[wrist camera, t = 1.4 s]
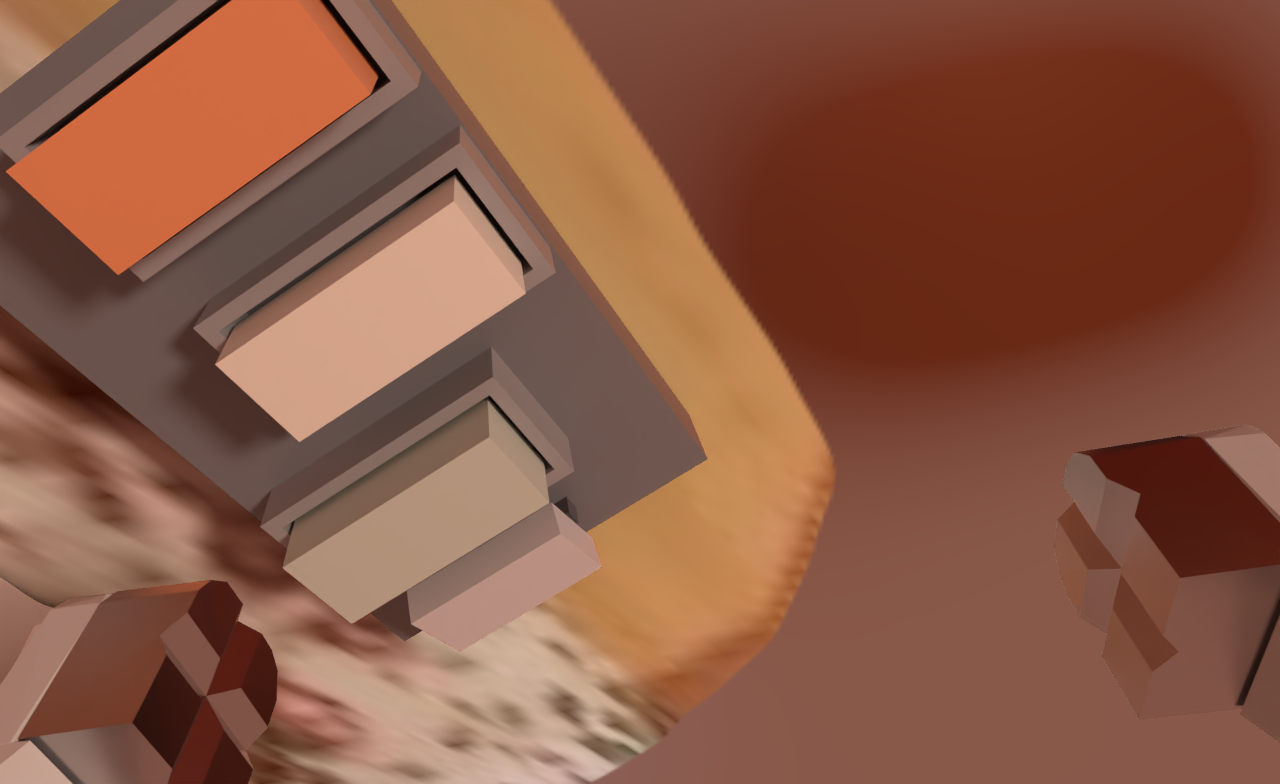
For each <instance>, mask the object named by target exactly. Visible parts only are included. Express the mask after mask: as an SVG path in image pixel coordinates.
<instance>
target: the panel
mask: <svg viewBox="0 0 1280 784" xmlns="http://www.w3.org/2000/svg"><path fill="white" fill-rule="evenodd" d="M230 1H231V0H120V1H119V2H118V3H116V4H115V5H114V6H112V7H111V8H110V9H109V10H107V11H106V12H105V13H103V14H102V15H101V16H100V17H98V18H97V19H96V20H94V21H93V22H92V23H91V24H89V25H88V26H87V27H85V28H84V29H83V30H81V31H80V32H79V33H78V34H76V35H75V36H74V37H72V38H71V39H70V40H69V41H67V42H66V43H65V44H63V45H62V46H61V47H60V48H58V49H57V50H56V51H54V52H53V53H52V54H51V55H49V56H48V57H47V58H45V59H44V60H43V61H42V62H40V63H39V64H38V65H36V66H35V67H34V68H32V69H31V70H30V71H29V72H27V73H26V74H25V75H23V76H22V77H21V78H20V79H18V80H17V81H16V82H14V83H13V84H12V85H11V86H9V87H8V88H7V89H5V90H4V91H3V92H2V93H0V306H1V307H2V308H3V309H5V310H6V311H7V312H8V313H9V314H11V315H12V316H13V317H14V318H16V319H17V320H18V321H19V322H20V323H22V324H23V325H24V326H25V327H26V328H28V329H29V330H30V331H31V332H32V333H34V334H35V335H36V336H37V337H38V338H40V339H41V340H42V341H43V342H44V343H46V344H47V345H48V346H49V347H51V348H52V349H53V350H54V351H55V352H57V353H58V354H59V355H60V356H61V357H63V358H64V359H65V360H66V361H67V362H69V363H70V364H71V365H72V366H73V367H75V368H76V369H77V370H78V371H79V372H81V373H82V374H83V375H84V376H85V377H87V378H88V379H89V380H90V381H92V382H93V383H94V384H95V385H96V386H98V387H99V388H100V389H101V390H102V391H104V392H105V393H106V394H107V395H108V396H110V397H111V398H112V399H113V400H114V401H116V402H117V403H118V404H119V405H120V406H122V407H123V408H124V409H125V410H126V411H128V412H129V413H130V414H131V415H133V416H134V417H135V418H136V419H137V420H139V421H140V422H141V423H142V424H143V425H145V426H146V427H147V428H148V429H149V430H151V431H152V432H153V433H154V434H155V435H157V436H158V437H159V438H160V439H161V440H163V441H164V442H165V443H166V444H167V445H169V446H170V447H171V448H172V449H174V450H175V451H176V452H177V453H178V454H180V455H181V456H182V457H183V458H184V459H186V460H187V461H188V462H189V463H190V464H192V465H193V466H194V467H195V468H196V469H198V470H199V471H200V472H201V473H202V474H204V475H205V476H206V477H207V478H208V479H210V480H211V481H212V482H213V483H215V484H216V485H217V486H218V487H219V488H221V489H222V490H223V491H224V492H225V493H227V494H228V495H229V496H230V497H231V498H233V499H234V500H235V501H236V502H237V503H239V504H240V505H241V506H242V507H243V508H245V509H246V510H247V511H248V512H249V513H251V514H252V515H253V516H254V517H256V518H257V519H258V520H259V521H260V522H261V525H260V527H261V528H262V529H263V530H264V531H266V532H267V533H268V534H269V535H271V536H272V537H273V538H274V539H275V540H277V541H278V542H279V543H280V544H281V545H283V546H284V547H285V548H286V549H287V548H288V544H289V541H290V537H291V533H292V529H293V526H294V522H295V520H296V519H297V518H299V517H301V516H302V515H304V514H305V513H307V512H308V511H310V510H312V509H313V508H315V507H316V506H318V505H319V504H321V503H322V502H324V501H326V500H327V499H329V498H330V497H332V496H333V495H335V494H337V493H338V492H340V491H341V490H343V489H344V488H346V487H347V486H349V485H351V484H352V483H354V482H355V481H357V480H358V479H360V478H362V477H363V476H365V475H366V474H368V473H369V472H371V471H372V470H374V469H376V468H377V467H379V466H380V465H382V464H383V463H385V462H387V461H388V460H390V459H391V458H393V457H394V456H396V455H397V454H399V453H401V452H402V451H404V450H405V449H407V448H408V447H410V446H412V445H413V444H415V443H416V442H418V441H419V440H421V439H422V438H424V437H426V436H427V435H429V434H430V433H432V432H433V431H435V430H437V429H438V428H440V427H441V426H443V425H444V424H446V423H447V422H449V421H451V420H452V419H454V418H455V417H457V416H458V415H460V414H462V413H463V412H465V411H466V410H468V409H469V408H471V407H472V406H474V405H476V404H477V403H479V402H480V401H482V400H483V399H485V398H487V397H488V398H489V399H490V400H491V401H492V402H493V403H494V405H495V406H496V407H497V408H498V409H499V410H500V411H501V412H502V414H503V415H504V416H505V417H506V418H507V419H508V420H509V422H510V423H511V424H512V425H513V426H514V427H515V428H516V430H517V431H518V432H519V433H520V434H521V435H522V436H523V437H524V439H525V440H526V441H527V442H528V443H529V444H530V445H531V447H532V448H533V449H534V450H535V451H536V452H537V453H538V455H539V456H540V457H541V458H542V459H543V460H544V466H545V474H546V481H547V489H548V496H549V504H550V503H551V502H552V503H553V504H554V505H555V506H556V507H557V508H559V509H560V510H561V511H562V512H563V513H564V514H565V515H567V516H568V517H569V518H570V519H571V520H572V521H574V522H575V523H576V524H577V525H578V526H579V527H580V528H582V529H583V530H584V531H585V532H587V531H589V530H590V529H592V528H594V527H595V526H597V525H599V524H600V523H602V522H604V521H605V520H607V519H609V518H610V517H612V516H614V515H615V514H617V513H619V512H620V511H622V510H624V509H625V508H627V507H629V506H630V505H632V504H634V503H635V502H637V501H639V500H640V499H642V498H644V497H645V496H647V495H649V494H650V493H652V492H654V491H655V490H657V489H659V488H660V487H662V486H664V485H665V484H667V483H669V482H670V481H672V480H673V479H675V478H677V477H678V476H680V475H682V474H683V473H685V472H687V471H688V470H690V469H692V468H693V467H695V466H697V465H698V464H700V463H702V462H703V461H705V460H707V457H706V454H705V452H704V449H703V447H702V445H701V442H700V440H699V437H698V435H697V433H696V430H695V428H694V425H693V423H692V421H691V418H690V416H689V414H688V413H687V411H686V410H685V409H684V407H683V406H682V404H681V403H680V402H679V400H678V399H677V397H676V396H675V395H674V393H673V392H672V390H671V389H670V388H669V386H668V385H667V383H666V382H665V381H664V379H663V378H662V377H661V375H660V374H659V372H658V371H657V370H656V368H655V367H654V365H653V364H652V363H651V361H650V360H649V358H648V357H647V356H646V354H645V353H644V351H643V350H642V349H641V347H640V346H639V344H638V343H637V342H636V340H635V339H634V338H633V336H632V335H631V333H630V332H629V331H628V329H627V328H626V326H625V325H624V324H623V322H622V321H621V319H620V318H619V317H618V315H617V314H616V312H615V311H614V310H613V308H612V307H611V305H610V304H609V303H608V301H607V300H606V299H605V297H604V296H603V294H602V293H601V292H600V290H599V289H598V287H597V286H596V285H595V283H594V282H593V280H592V279H591V278H590V276H589V275H588V273H587V272H586V271H585V269H584V268H583V267H582V265H581V264H580V262H579V261H578V260H577V258H576V257H575V255H574V254H573V253H572V251H571V250H570V248H569V247H568V246H567V244H566V243H565V241H564V240H563V239H562V237H561V236H560V234H559V233H558V232H557V230H556V229H555V228H554V226H553V225H552V223H551V222H550V221H549V219H548V218H547V216H546V215H545V214H544V212H543V211H542V209H541V208H540V207H539V205H538V204H537V202H536V201H535V200H534V198H533V197H532V195H531V194H530V193H529V191H528V190H527V189H526V187H525V186H524V184H523V183H522V182H521V180H520V179H519V177H518V176H517V175H516V173H515V172H514V170H513V169H512V168H511V166H510V165H509V163H508V162H507V161H506V159H505V158H504V157H503V155H502V154H501V152H500V151H499V150H498V148H497V147H496V145H495V144H494V143H493V141H492V140H491V138H490V137H489V136H488V134H487V133H486V131H485V130H484V129H483V127H482V126H481V124H480V123H479V122H478V120H477V119H476V118H475V116H474V115H473V113H472V112H471V111H470V109H469V108H468V106H467V105H466V104H465V102H464V101H463V99H462V98H461V97H460V95H459V94H458V92H457V91H456V90H455V88H454V87H453V85H452V84H451V83H450V81H449V80H448V79H447V77H446V76H445V74H444V73H443V72H442V70H441V69H440V67H439V66H438V65H437V63H436V62H435V60H434V59H433V58H432V56H431V55H430V53H429V52H428V51H427V49H426V48H425V46H424V45H423V44H422V42H421V41H420V40H419V38H418V37H417V35H416V34H415V33H414V31H413V30H412V28H411V27H410V26H409V24H408V23H407V21H406V20H405V19H404V17H403V16H402V14H401V13H400V12H399V10H398V9H397V8H396V6H395V5H394V3H393V2H392V1H391V0H322V1H323V2H324V4H325V5H326V6H327V7H328V9H329V10H330V11H331V13H332V14H333V15H334V17H335V18H336V19H337V21H338V22H339V23H340V25H341V26H342V27H343V28H344V30H345V31H346V32H347V34H348V35H349V36H350V38H351V39H352V40H353V42H354V43H355V44H356V45H357V47H358V48H359V49H360V51H361V52H362V53H363V55H364V56H365V57H366V59H367V60H368V61H369V63H370V64H371V65H372V66H373V68H374V69H375V70H376V72H377V73H378V74H379V76H378V79H377V81H376V83H375V85H374V88H373V90H372V92H371V94H370V95H369V96H367V97H366V98H365V99H363V100H362V101H360V102H359V103H358V104H356V105H355V106H354V107H352V108H351V109H349V110H348V111H347V112H345V113H344V114H342V115H341V116H340V117H338V118H337V119H335V120H334V121H333V122H331V123H330V124H328V125H327V126H326V127H324V128H323V129H321V130H320V131H319V132H317V133H316V134H314V135H313V136H312V137H310V138H309V139H307V140H306V141H305V142H303V143H302V144H301V145H299V146H298V147H296V148H295V149H294V150H292V151H291V152H289V153H288V154H287V155H285V156H284V157H282V158H281V159H280V160H278V161H277V162H275V163H274V164H273V165H271V166H270V167H268V168H267V169H266V170H264V171H263V172H261V173H260V174H259V175H257V176H256V177H254V178H253V179H252V180H250V181H249V182H248V183H246V184H245V185H243V186H242V187H241V188H239V189H238V190H236V191H235V192H234V193H232V194H231V195H229V196H228V197H227V198H225V199H224V200H222V201H221V202H220V203H218V204H217V205H215V206H214V207H213V208H211V209H210V210H208V211H207V212H206V213H204V214H203V215H201V216H200V217H199V218H197V219H196V220H195V221H193V222H192V223H190V224H189V225H188V226H186V227H185V228H183V229H182V230H181V231H179V232H178V233H176V234H175V235H174V236H172V237H171V238H169V239H168V240H167V241H165V242H164V243H162V244H161V245H160V246H158V247H157V248H155V249H154V250H153V251H151V252H150V253H148V254H147V255H146V256H144V257H143V258H141V259H140V260H139V261H137V262H136V263H135V264H133V265H132V266H130V267H129V268H128V269H126V270H125V271H123V272H122V273H121V274H119V275H117V274H116V273H115V272H114V271H113V270H112V269H111V268H110V267H109V266H108V265H107V264H106V263H104V262H103V261H102V260H101V259H100V258H99V257H98V256H97V255H96V254H95V253H94V252H92V251H91V250H90V249H89V248H88V247H87V246H86V245H85V244H84V243H83V242H82V241H81V240H79V239H78V238H77V237H76V236H75V235H74V234H73V233H72V232H71V231H70V230H69V229H68V228H66V227H65V226H64V225H63V224H62V223H61V222H60V221H59V220H58V219H57V218H56V217H55V216H53V215H52V214H51V213H50V212H49V211H48V210H47V209H46V208H45V207H44V206H43V205H41V204H40V203H39V202H38V201H37V200H36V199H35V198H34V197H33V196H32V195H31V194H30V193H28V192H27V191H26V190H25V189H24V188H23V187H22V186H21V185H20V184H19V183H18V182H17V181H15V180H14V179H13V178H12V177H11V176H10V175H9V174H8V173H7V172H6V171H7V170H8V169H10V168H11V167H12V166H13V165H15V164H16V163H17V162H19V161H20V160H21V159H23V158H24V157H25V156H27V155H28V154H29V153H31V152H32V151H33V150H35V149H36V148H37V147H39V146H40V145H41V144H43V143H44V142H45V141H46V140H48V139H49V138H50V137H52V136H53V135H54V134H56V133H57V132H58V131H60V130H61V129H62V128H64V127H65V126H66V125H68V124H69V123H70V122H72V121H73V120H74V119H76V118H77V117H78V116H79V115H81V114H82V113H83V112H85V111H86V110H87V109H89V108H90V107H91V106H93V105H94V104H95V103H97V102H98V101H99V100H101V99H102V98H103V97H105V96H106V95H107V94H109V93H110V92H111V91H112V90H114V89H115V88H116V87H118V86H119V85H120V84H122V83H123V82H124V81H126V80H127V79H128V78H130V77H131V76H132V75H134V74H135V73H136V72H138V71H139V70H140V69H142V68H143V67H144V66H145V65H147V64H148V63H149V62H151V61H152V60H153V59H155V58H156V57H157V56H159V55H160V54H161V53H163V52H164V51H165V50H167V49H168V48H169V47H171V46H172V45H173V44H175V43H176V42H177V41H178V40H180V39H181V38H182V37H184V36H185V35H186V34H188V33H189V32H190V31H192V30H193V29H194V28H196V27H197V26H198V25H200V24H201V23H202V22H204V21H205V20H206V19H208V18H209V17H210V16H211V15H213V14H214V13H215V12H217V11H218V10H219V9H221V8H222V7H223V6H225V5H226V4H227V3H229V2H230ZM453 175H456V177H457V178H458V179H459V181H460V182H461V183H462V185H463V186H464V187H465V188H466V190H467V191H468V192H469V194H470V195H471V196H472V198H473V199H474V200H475V202H476V203H477V204H478V205H479V207H480V208H481V209H482V211H483V212H484V213H485V215H486V216H487V217H488V219H489V220H490V221H491V223H492V224H493V225H494V226H495V228H496V229H497V230H498V232H499V233H500V234H501V236H502V237H503V238H504V240H505V241H506V242H507V244H508V245H509V246H510V247H511V249H512V250H513V251H514V253H515V254H516V255H517V257H518V258H519V259H520V261H521V264H522V271H523V278H524V285H525V292H526V294H524V295H523V296H521V297H520V298H518V299H517V300H515V301H514V302H512V303H511V304H509V305H508V306H506V307H505V308H503V309H502V310H500V311H499V312H497V313H496V314H494V315H492V316H491V317H489V318H488V319H486V320H485V321H483V322H482V323H480V324H479V325H477V326H476V327H474V328H473V329H471V330H470V331H468V332H467V333H465V334H463V335H462V336H460V337H459V338H457V339H456V340H454V341H453V342H451V343H450V344H448V345H447V346H445V347H444V348H442V349H441V350H439V351H438V352H436V353H434V354H433V355H431V356H430V357H428V358H427V359H425V360H424V361H422V362H421V363H419V364H418V365H416V366H415V367H413V368H412V369H410V370H409V371H407V372H406V373H404V374H402V375H401V376H399V377H398V378H396V379H395V380H393V381H392V382H390V383H389V384H387V385H386V386H384V387H383V388H381V389H380V390H378V391H377V392H375V393H373V394H372V395H370V396H369V397H367V398H366V399H364V400H363V401H361V402H360V403H358V404H357V405H355V406H354V407H352V408H351V409H349V410H348V411H346V412H345V413H343V414H341V415H340V416H338V417H337V418H335V419H334V420H332V421H331V422H329V423H328V424H326V425H325V426H323V427H322V428H320V429H319V430H317V431H316V432H314V433H312V434H311V435H309V436H308V437H306V438H305V439H303V440H302V441H300V442H299V441H298V440H296V439H295V438H294V437H293V436H292V435H291V434H290V433H289V432H288V431H287V430H286V429H285V428H283V427H282V426H281V425H280V424H279V423H278V422H277V421H276V420H275V419H274V418H273V417H272V416H270V415H269V414H268V413H267V412H266V411H265V410H264V409H263V408H262V407H261V406H260V405H258V404H257V403H256V402H255V401H254V400H253V399H252V398H251V397H250V396H249V395H248V394H247V393H245V392H244V391H243V390H242V389H241V388H240V387H239V386H238V385H237V384H236V383H235V382H234V381H232V380H231V379H230V378H229V377H228V376H227V375H226V374H225V373H224V372H223V371H222V370H221V369H219V368H218V367H217V366H216V365H215V364H216V362H217V360H218V358H219V356H220V354H221V352H222V350H223V348H224V346H225V344H226V342H227V340H228V338H229V336H230V335H231V333H232V331H233V329H234V327H235V325H237V324H238V323H240V322H241V321H243V320H244V319H246V318H247V317H249V316H250V315H251V314H253V313H254V312H256V311H257V310H259V309H260V308H262V307H263V306H264V305H266V304H267V303H269V302H270V301H272V300H273V299H275V298H276V297H278V296H279V295H280V294H282V293H283V292H285V291H286V290H288V289H289V288H291V287H292V286H294V285H295V284H296V283H298V282H299V281H301V280H302V279H304V278H305V277H307V276H308V275H309V274H311V273H312V272H314V271H315V270H317V269H318V268H320V267H321V266H323V265H324V264H325V263H327V262H328V261H330V260H331V259H333V258H334V257H336V256H337V255H339V254H340V253H341V252H343V251H344V250H346V249H347V248H349V247H350V246H352V245H353V244H354V243H356V242H357V241H359V240H360V239H362V238H363V237H365V236H366V235H368V234H369V233H370V232H372V231H373V230H375V229H376V228H378V227H379V226H381V225H382V224H384V223H385V222H386V221H388V220H389V219H391V218H392V217H394V216H395V215H397V214H398V213H399V212H401V211H402V210H404V209H405V208H407V207H408V206H410V205H411V204H413V203H414V202H415V201H417V200H418V199H420V198H421V197H423V196H424V195H426V194H427V193H429V192H430V191H431V190H433V189H434V188H436V187H437V186H439V185H440V184H442V183H443V182H445V181H446V180H447V179H449V178H450V177H452V176H453ZM547 505H548V504H547ZM545 506H546V505H545ZM545 506H544V507H545ZM542 508H543V507H542ZM542 508H540V509H542ZM540 509H539V510H540ZM537 511H538V510H537ZM537 511H536V512H537ZM534 513H535V512H534ZM532 514H533V513H532ZM532 514H531V515H532ZM529 516H530V515H529ZM527 517H528V516H527ZM527 517H526V518H527ZM524 519H525V518H524ZM524 519H522V520H524ZM522 520H521V521H522ZM519 522H520V521H519ZM519 522H518V523H519ZM516 524H517V523H516ZM514 525H515V524H514ZM514 525H513V526H514ZM511 527H512V526H511ZM511 527H509V528H511ZM509 528H508V529H509ZM506 530H507V529H506ZM506 530H504V531H506ZM504 531H503V532H504ZM501 533H502V532H501ZM501 533H500V534H501ZM498 535H499V534H498ZM496 536H497V535H496ZM496 536H495V537H496ZM493 538H494V537H493ZM493 538H491V539H493ZM491 539H490V540H491ZM488 541H489V540H488ZM488 541H486V542H488ZM486 542H485V543H486ZM483 544H484V543H483ZM483 544H482V545H483ZM480 546H481V545H480ZM478 547H479V546H478ZM478 547H477V548H478ZM475 549H476V548H475ZM475 549H473V550H475ZM473 550H472V551H473ZM470 552H471V551H470ZM470 552H468V553H470ZM468 553H467V554H468ZM465 555H466V554H465ZM465 555H464V556H465ZM462 557H463V556H462ZM460 558H461V557H460ZM460 558H459V559H460ZM457 560H458V559H457ZM457 560H455V561H457ZM455 561H454V562H455ZM452 563H453V562H452ZM452 563H450V564H452ZM450 564H449V565H450ZM447 566H448V565H447ZM447 566H446V567H447ZM444 568H445V567H444ZM442 569H443V568H442ZM442 569H441V570H442ZM439 571H440V570H439ZM439 571H437V572H439ZM437 572H436V573H437ZM434 574H435V573H434ZM434 574H432V575H434ZM432 575H431V576H432ZM429 577H430V576H429ZM429 577H428V578H429ZM426 579H427V578H426ZM424 580H425V579H424ZM424 580H423V581H424ZM421 582H422V581H421ZM421 582H419V583H421ZM419 583H418V584H419ZM416 585H417V584H416ZM416 585H414V586H416ZM414 586H413V587H414ZM411 588H412V587H411ZM411 588H410V589H411ZM408 590H409V589H408ZM370 613H371V614H373V615H374V616H375V617H376V618H377V619H379V620H380V621H381V622H382V623H383V624H385V625H386V626H387V627H388V628H389V629H391V630H392V631H393V632H394V633H395V634H397V635H398V636H399V637H400V638H401V639H403V640H404V641H406V640H407V639H409V638H411V637H412V636H414V635H416V634H417V633H419V632H421V631H422V630H421V629H419V628H417V627H415V626H414V625H412V624H411V621H410V613H409V605H408V597H407V590H406V591H405V592H403V593H401V594H400V595H398V596H396V597H395V598H393V599H392V600H390V601H388V602H387V603H385V604H383V605H382V606H380V607H379V608H377V609H375V610H374V611H372V612H370Z"/></svg>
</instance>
